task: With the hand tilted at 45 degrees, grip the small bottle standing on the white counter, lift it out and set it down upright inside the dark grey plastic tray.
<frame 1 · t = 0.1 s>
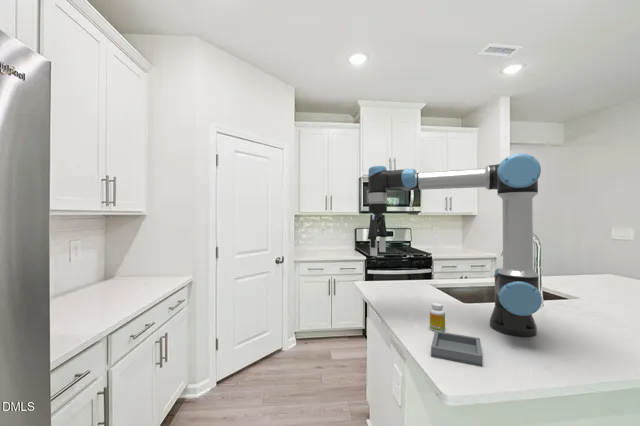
hand: (378, 253, 123), 28 cm above the worktop, tool pointing down, fingers open, 13 cm apart
supplement bottle: (437, 329, 113), on the worktop
tray: (456, 351, 95), on the worktop
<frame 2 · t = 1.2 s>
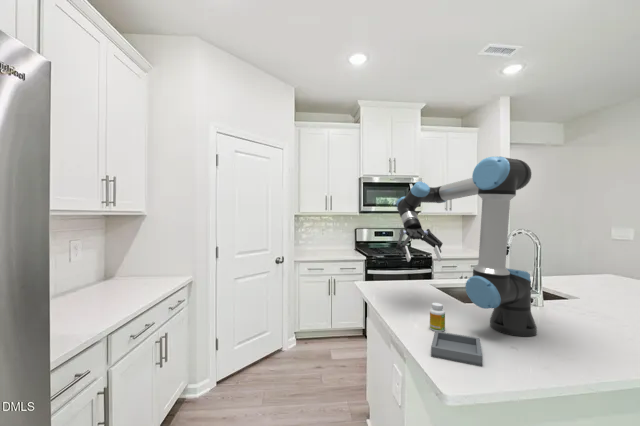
hand: (425, 259, 124), 25 cm above the worktop, tool tilted 45°, fingers open, 13 cm apart
nothing on the worktop moved.
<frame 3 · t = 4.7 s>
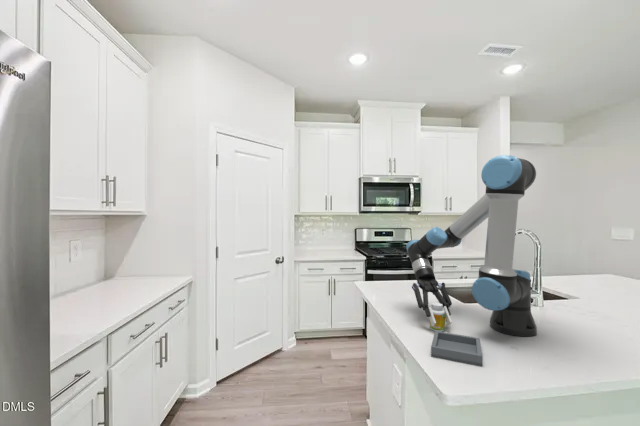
hand: (442, 324, 109), 3 cm above the worktop, tool tilted 45°, fingers closed on supplement bottle, 5 cm apart
supplement bottle: (437, 329, 113), on the worktop, touching gripper
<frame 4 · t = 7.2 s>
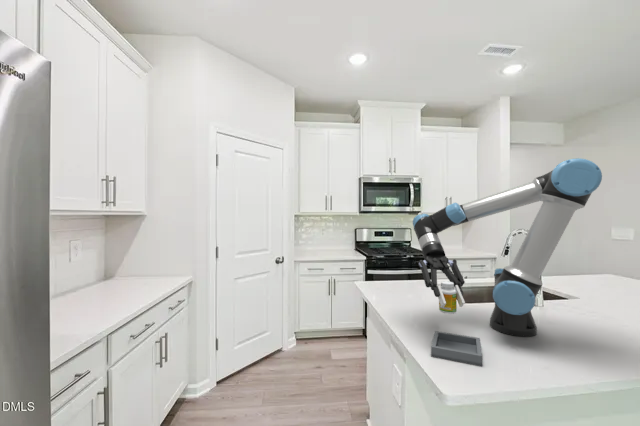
hand: (453, 304, 95), 15 cm above the worktop, tool tilted 45°, fingers closed on supplement bottle, 5 cm apart
supplement bottle: (447, 312, 98), point 11 cm above the worktop, touching gripper
when the fingers open (6 cm above the worktop, at t = 9.6 s): supplement bottle drops 2 cm, resting on tray.
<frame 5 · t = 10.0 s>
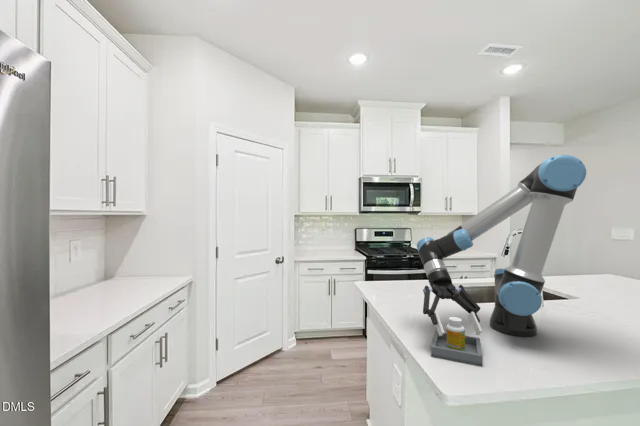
hand: (460, 333, 92), 7 cm above the worktop, tool tilted 45°, fingers open, 11 cm apart
supplement bottle: (455, 349, 95), point 1 cm above the worktop, touching tray
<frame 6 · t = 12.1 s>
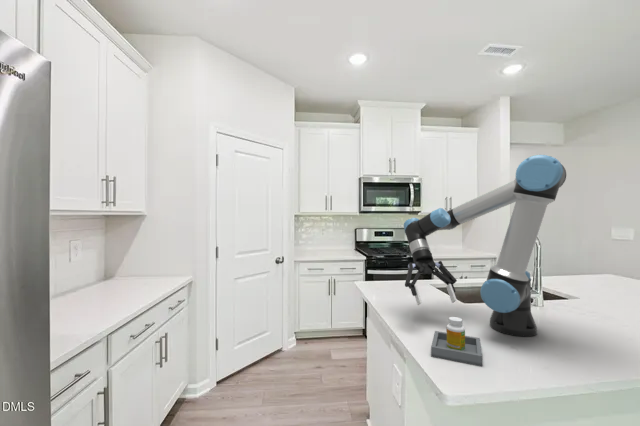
hand: (437, 302, 109), 11 cm above the worktop, tool tilted 35°, fingers open, 13 cm apart
nothing on the worktop moved.
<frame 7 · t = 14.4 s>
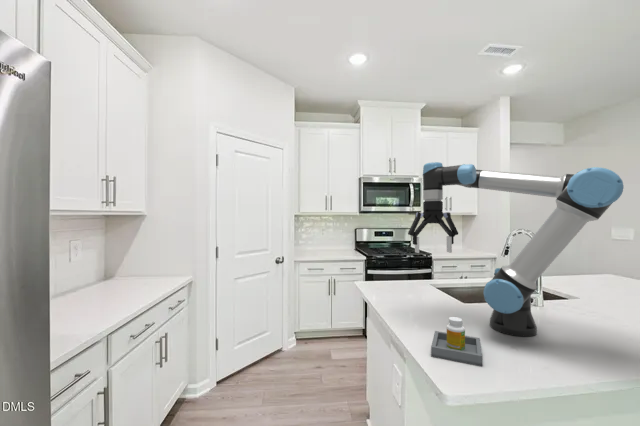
hand: (433, 252, 120), 29 cm above the worktop, tool pointing down, fingers open, 13 cm apart
nothing on the worktop moved.
at the end: supplement bottle inside the target area on the tray (0.2 cm from its centre), point 0.6 cm above the tray's base; supplement bottle tilted 0°; the gripper is holding nothing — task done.
